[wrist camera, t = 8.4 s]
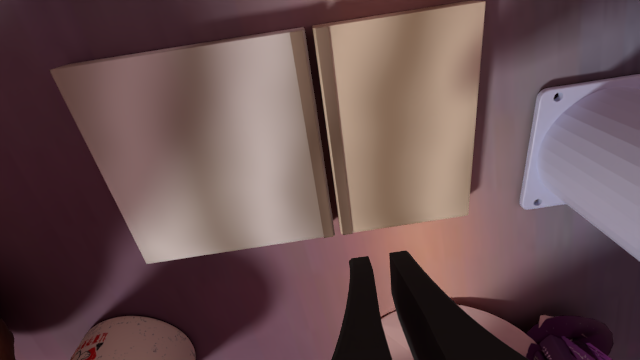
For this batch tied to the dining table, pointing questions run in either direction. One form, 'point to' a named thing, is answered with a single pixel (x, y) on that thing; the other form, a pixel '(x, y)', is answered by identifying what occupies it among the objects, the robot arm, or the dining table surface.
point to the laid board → (401, 113)
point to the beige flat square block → (207, 143)
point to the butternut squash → (6, 342)
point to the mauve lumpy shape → (526, 337)
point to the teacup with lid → (134, 341)
